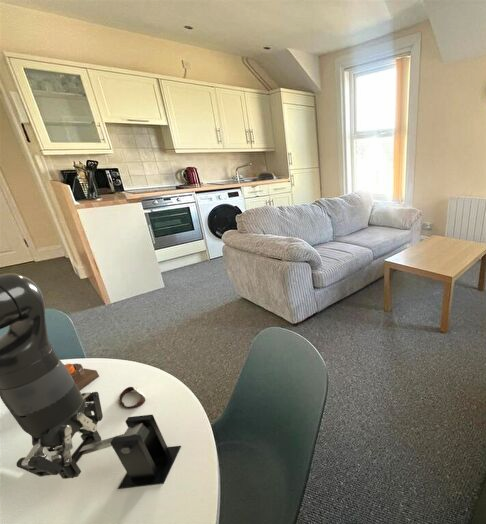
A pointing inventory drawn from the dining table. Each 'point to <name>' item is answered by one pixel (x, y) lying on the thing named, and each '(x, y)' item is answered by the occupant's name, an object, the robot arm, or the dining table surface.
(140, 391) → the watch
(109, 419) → the dining table surface
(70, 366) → the button
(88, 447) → the lever
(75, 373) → the button block
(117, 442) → the bracket
